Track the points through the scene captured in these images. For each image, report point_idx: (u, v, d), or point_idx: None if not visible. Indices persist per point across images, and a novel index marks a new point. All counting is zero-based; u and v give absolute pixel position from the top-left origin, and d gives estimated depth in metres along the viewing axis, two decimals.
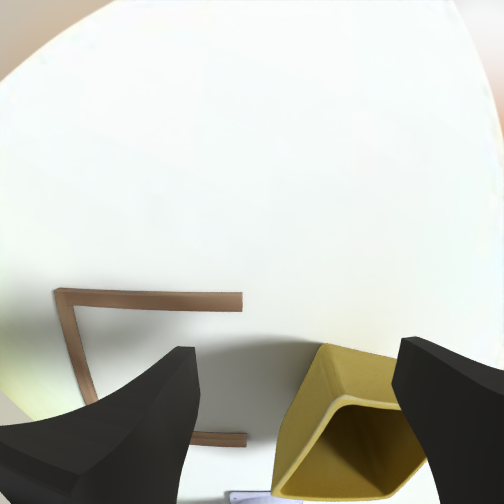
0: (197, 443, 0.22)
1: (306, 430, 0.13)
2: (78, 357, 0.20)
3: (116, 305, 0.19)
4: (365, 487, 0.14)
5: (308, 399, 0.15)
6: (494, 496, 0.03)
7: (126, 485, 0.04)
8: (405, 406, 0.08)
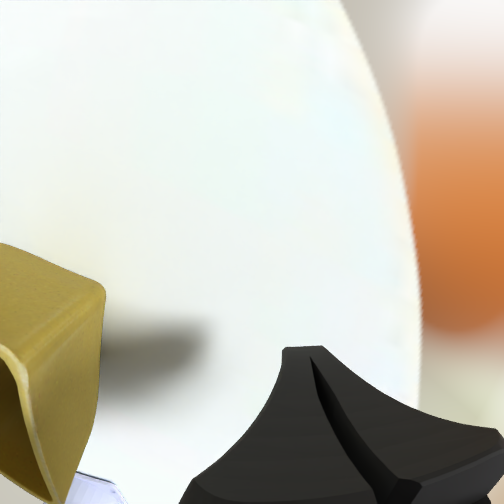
0: None
1: None
2: None
3: None
4: (30, 471, 0.07)
5: None
6: None
7: None
8: None
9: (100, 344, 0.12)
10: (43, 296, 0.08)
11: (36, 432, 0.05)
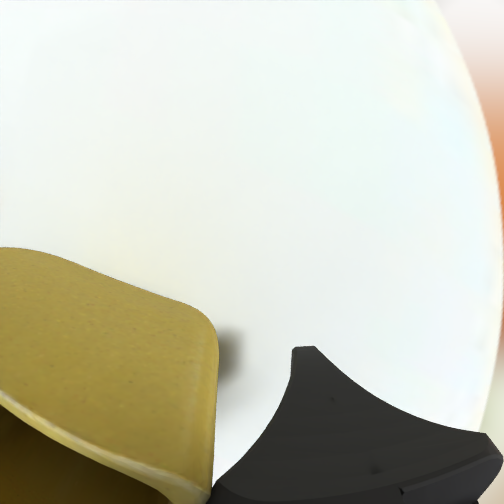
0: None
1: None
2: None
3: None
4: None
5: None
6: None
7: None
8: None
9: None
10: (155, 341, 0.06)
11: None
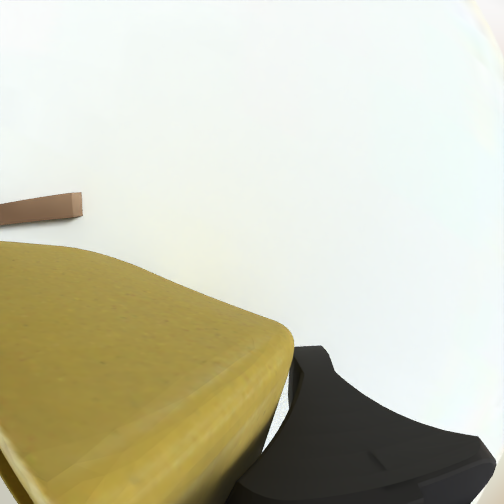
0: None
1: None
2: None
3: None
4: None
5: None
6: None
7: None
8: None
9: None
10: (182, 335, 0.04)
11: None
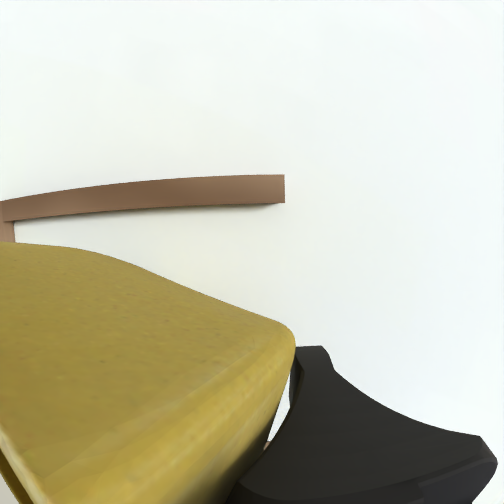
0: None
1: None
2: None
3: (68, 209, 0.11)
4: None
5: None
6: None
7: None
8: None
9: None
10: (183, 335, 0.04)
11: None
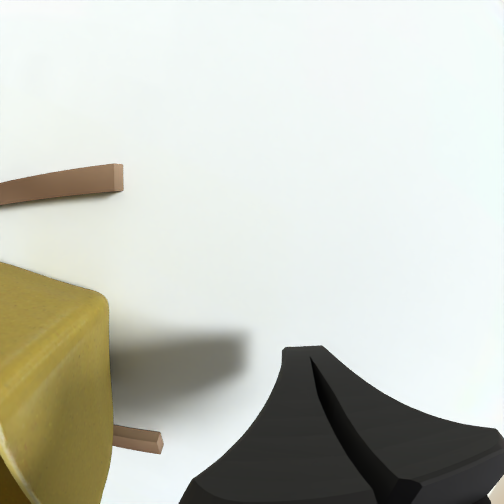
0: None
1: None
2: None
3: None
4: None
5: None
6: None
7: None
8: None
9: (108, 365, 0.10)
10: (24, 313, 0.06)
11: (31, 491, 0.03)
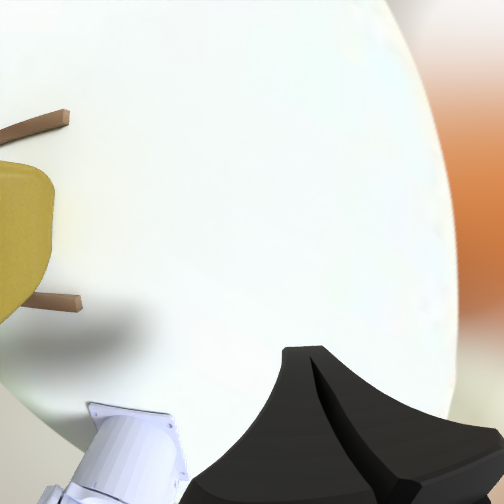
0: (36, 305, 0.19)
1: None
2: None
3: None
4: None
5: None
6: None
7: None
8: None
9: (46, 222, 0.16)
10: None
11: None
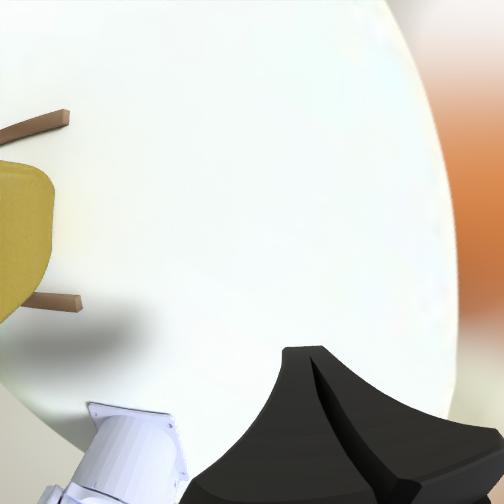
0: (36, 305, 0.19)
1: None
2: None
3: None
4: None
5: None
6: None
7: None
8: None
9: (46, 222, 0.16)
10: None
11: None
